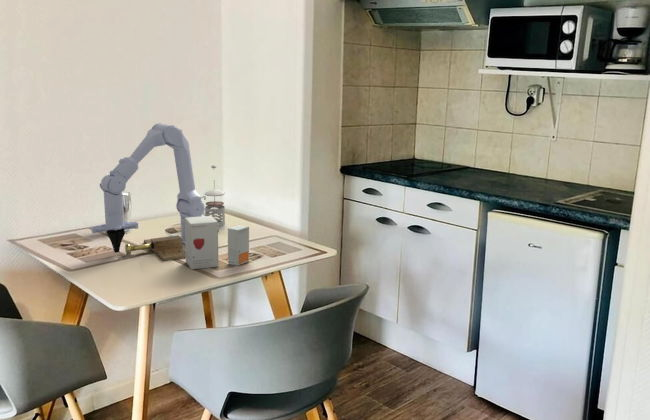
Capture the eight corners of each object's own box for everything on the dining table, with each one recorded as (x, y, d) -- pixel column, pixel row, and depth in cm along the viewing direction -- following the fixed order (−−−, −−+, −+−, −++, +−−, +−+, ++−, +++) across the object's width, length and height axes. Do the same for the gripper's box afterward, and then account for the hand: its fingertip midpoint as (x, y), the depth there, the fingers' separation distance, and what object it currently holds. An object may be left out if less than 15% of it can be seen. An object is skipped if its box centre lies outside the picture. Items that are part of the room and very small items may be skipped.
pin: (156, 248, 206) (155, 238, 205) (159, 251, 203) (158, 241, 202) (125, 252, 200) (124, 242, 200) (128, 255, 197) (127, 245, 197)
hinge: (170, 239, 218) (169, 228, 217) (191, 256, 198) (191, 245, 197) (143, 242, 213) (143, 231, 212) (163, 260, 193) (162, 249, 193)
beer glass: (136, 231, 228) (134, 193, 224) (122, 235, 222) (119, 196, 219) (124, 228, 231) (122, 190, 228) (109, 232, 226) (107, 193, 222)
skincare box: (237, 266, 190) (237, 230, 187) (227, 263, 192) (227, 228, 189) (249, 261, 195) (249, 226, 192) (239, 259, 197) (239, 224, 194)
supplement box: (190, 270, 185) (189, 223, 182) (185, 261, 193) (183, 217, 190) (219, 267, 189) (218, 221, 185) (212, 258, 197) (211, 215, 193)
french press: (225, 230, 232) (224, 167, 226) (195, 229, 232) (193, 166, 227) (229, 224, 242) (228, 163, 236) (201, 223, 242) (199, 162, 236)
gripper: (93, 216, 187) (95, 257, 190) (139, 212, 194) (141, 251, 197) (88, 212, 193) (91, 252, 196) (134, 207, 200) (136, 246, 203)
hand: (116, 251), depth 197 cm, fingers closed
